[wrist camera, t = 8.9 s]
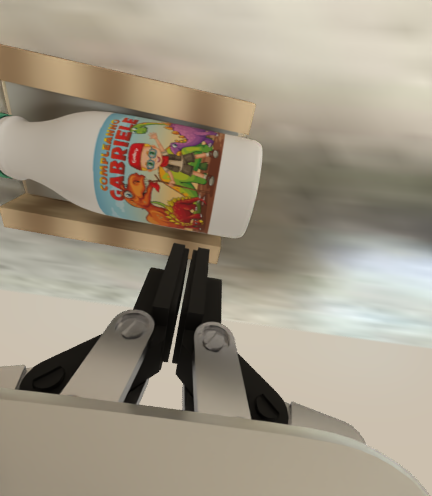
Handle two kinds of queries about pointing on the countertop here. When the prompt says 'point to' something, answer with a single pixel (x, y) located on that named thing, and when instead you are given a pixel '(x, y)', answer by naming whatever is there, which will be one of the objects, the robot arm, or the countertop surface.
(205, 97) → the cradle
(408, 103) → the countertop surface
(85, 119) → the milk bottle
